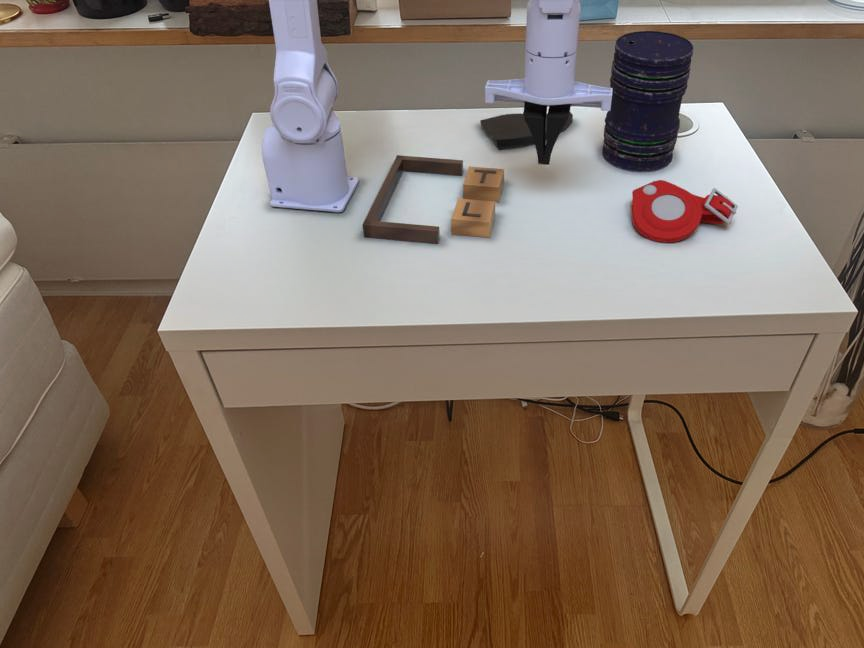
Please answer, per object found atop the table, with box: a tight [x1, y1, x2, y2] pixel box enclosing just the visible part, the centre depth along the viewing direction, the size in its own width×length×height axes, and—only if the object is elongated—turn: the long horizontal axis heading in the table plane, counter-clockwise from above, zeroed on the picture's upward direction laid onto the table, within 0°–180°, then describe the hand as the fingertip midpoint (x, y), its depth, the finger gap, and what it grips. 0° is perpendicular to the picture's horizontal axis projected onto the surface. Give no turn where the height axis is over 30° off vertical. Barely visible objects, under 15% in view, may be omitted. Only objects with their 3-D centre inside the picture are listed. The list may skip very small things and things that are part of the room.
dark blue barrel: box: [601, 30, 695, 173], centre depth 97 cm, size 10×10×15 cm
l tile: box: [450, 198, 496, 239], centre depth 89 cm, size 5×5×2 cm
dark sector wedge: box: [480, 111, 574, 151], centre depth 107 cm, size 8×14×2 cm, turn 107°
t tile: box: [462, 166, 505, 203], centre depth 94 cm, size 5×5×2 cm
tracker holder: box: [630, 179, 739, 243], centre depth 89 cm, size 12×4×10 cm
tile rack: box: [362, 154, 464, 245], centre depth 92 cm, size 9×17×2 cm, turn 171°
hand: (544, 160), depth 91 cm, fingers closed
